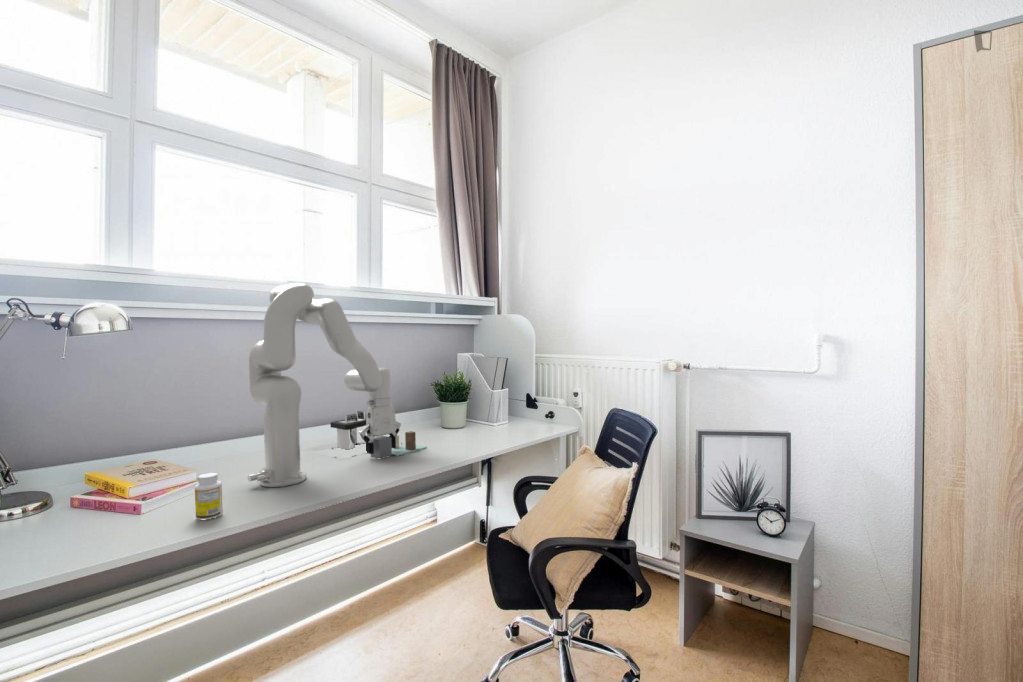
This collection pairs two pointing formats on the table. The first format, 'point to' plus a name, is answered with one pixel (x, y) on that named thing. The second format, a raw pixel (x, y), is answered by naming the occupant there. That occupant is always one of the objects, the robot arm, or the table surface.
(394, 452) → the board
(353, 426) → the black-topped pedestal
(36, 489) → the table surface
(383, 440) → the grey block
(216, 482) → the supplement bottle
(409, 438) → the walnut post
